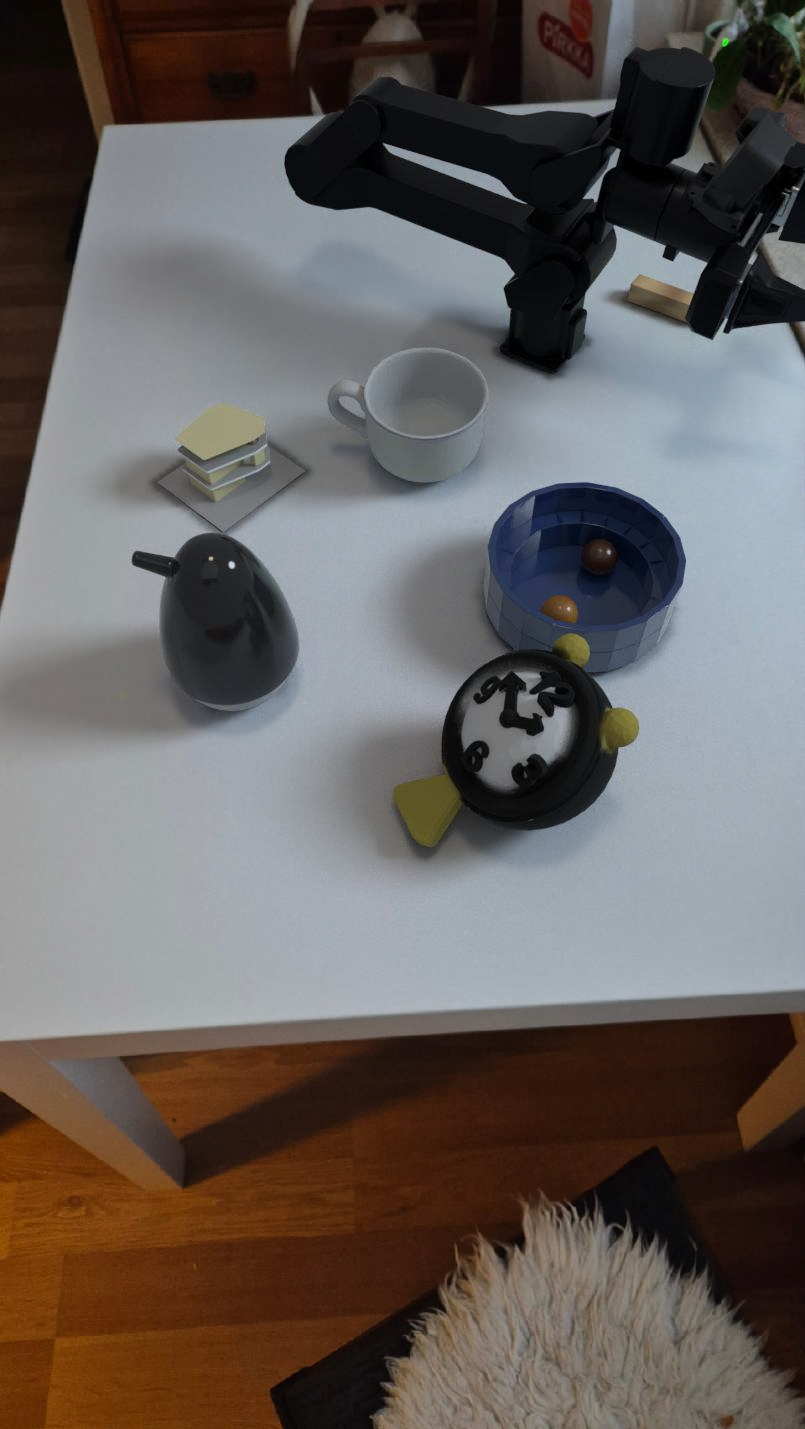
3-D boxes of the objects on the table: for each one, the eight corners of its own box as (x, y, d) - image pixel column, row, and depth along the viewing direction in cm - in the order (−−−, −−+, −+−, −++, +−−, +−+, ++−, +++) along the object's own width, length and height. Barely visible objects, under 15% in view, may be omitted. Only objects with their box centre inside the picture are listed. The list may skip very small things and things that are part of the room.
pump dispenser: (182, 623, 83) (139, 489, 70) (308, 625, 82) (289, 492, 69) (162, 729, 77) (112, 605, 64) (298, 732, 77) (274, 608, 64)
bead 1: (531, 630, 81) (535, 606, 79) (549, 605, 82) (553, 581, 80) (564, 646, 80) (569, 623, 78) (581, 621, 82) (587, 597, 79)
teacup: (497, 432, 94) (504, 361, 87) (463, 513, 89) (467, 444, 82) (358, 400, 97) (353, 329, 90) (316, 477, 91) (308, 407, 85)
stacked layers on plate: (223, 532, 88) (213, 486, 83) (157, 482, 91) (143, 436, 87) (305, 471, 92) (299, 424, 87) (238, 425, 95) (229, 378, 90)
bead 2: (572, 573, 84) (577, 549, 82) (588, 550, 86) (594, 526, 83) (604, 588, 83) (610, 564, 81) (620, 565, 85) (627, 540, 82)
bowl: (449, 623, 82) (451, 576, 77) (539, 508, 89) (547, 457, 84) (617, 708, 78) (631, 663, 73) (698, 579, 85) (717, 530, 79)
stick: (627, 301, 104) (630, 283, 103) (635, 291, 105) (639, 273, 104) (698, 327, 102) (703, 310, 100) (706, 316, 103) (711, 299, 101)
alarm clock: (426, 750, 80) (467, 584, 72) (602, 815, 78) (666, 650, 69) (373, 836, 71) (412, 656, 62) (571, 913, 68) (641, 736, 60)
